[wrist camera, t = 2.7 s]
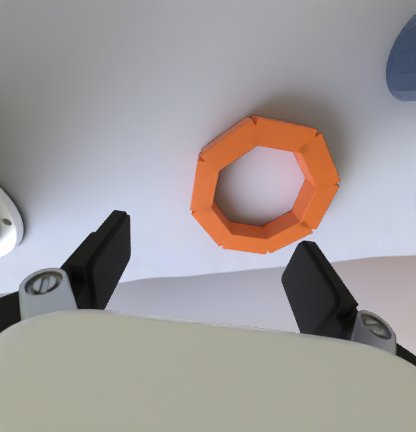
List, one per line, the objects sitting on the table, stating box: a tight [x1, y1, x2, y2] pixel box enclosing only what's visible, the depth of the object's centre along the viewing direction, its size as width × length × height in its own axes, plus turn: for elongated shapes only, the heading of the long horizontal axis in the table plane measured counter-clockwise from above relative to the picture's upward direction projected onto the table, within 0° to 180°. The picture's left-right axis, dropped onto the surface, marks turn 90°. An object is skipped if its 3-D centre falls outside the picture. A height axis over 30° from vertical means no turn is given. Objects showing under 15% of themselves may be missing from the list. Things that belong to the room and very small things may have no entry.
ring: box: [190, 115, 340, 254], centre depth 20 cm, size 13×13×2 cm
